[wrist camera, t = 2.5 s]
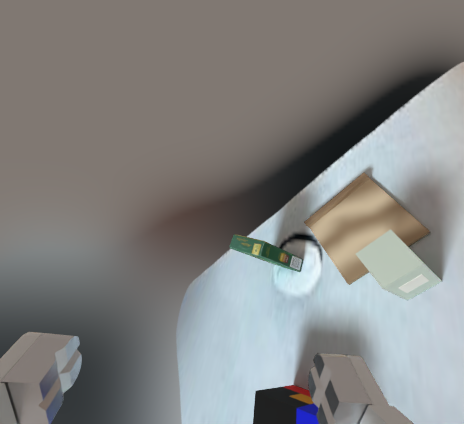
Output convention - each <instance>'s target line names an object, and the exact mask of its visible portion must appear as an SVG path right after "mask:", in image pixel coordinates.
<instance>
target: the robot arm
mask: <svg viewBox="0 0 464 424" xmlns="http://www.w3.org/2000/svg"><path fill="white" fill-rule="evenodd" d="M78 346H79V339H78V337H77V336H68V335H58V334H48V333H36V332H28V333H26V334H24V335H23V336H21V338H20V339H19V340H18V341H17V342H16V343H15V344H14V345H13V346H12V347H11V348H10V349H9V350H8V352H7V353H6V354H5V355H4V356H3V357H2V358H1V359H0V424H50V423H51V422H52V420H53V418H54V416H55V415H56V413H57V411H58V409H59V408H60V406H61V404H62V403H63V393H64V392H65V391H66V390H68V389H69V388H70V387H71V386H72V385H73V383H74V382H75V380H76V378H77V376H78V373H79V370H80V367H81V360H82V358H81V353H80V352H79V351H78V350H77V347H78ZM313 361H314V364H315V366H314V367H313V368H312V369H310V373H309V376H308V386H309V392H310V396H311V399H312V401H313V402H314V404H315V405H316V406H317V407H318V408H319V409H318V412H317V415H316V416H317V420H318V423H319V424H413V423H412V422H411V421H410V420H409V419H408V418H407V417H405V416H404V415H403V414H402V413H401V412H400V411H399V410H398V409H396V408H395V407H393V406H389V404H388V402H387V400H386V399H385V397H384V395H383V393H382V392H381V390H380V388H379V386H378V385H377V383H376V381H375V379H374V377H373V376H372V374H371V372H370V370H369V369H368V367H367V365H366V363H365V362H364V360H363V359H362V358H361V357H360V356H352V355H342V354H325V353H317V354H316V355H315V357H314V360H313Z"/></svg>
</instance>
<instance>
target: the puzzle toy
mask: <svg viewBox="0 0 464 424" xmlns="http://www.w3.org/2000/svg"><path fill="white" fill-rule="evenodd" d="M318 409H319V408H318V407H317V406H316V405H315V404H314V402H313V401H312V399H311V396H310V392H309V390H306V389H303V388H300V387H297V386H294V385H291V386H285V387H278V388H272V389H265V390H258V391H256V394H255V406H254V419H253V424H319V423H318V420H317V416H316V415H317V412H318Z"/></svg>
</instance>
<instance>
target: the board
mask: <svg viewBox="0 0 464 424" xmlns="http://www.w3.org/2000/svg"><path fill="white" fill-rule="evenodd" d="M304 223H305V224H306V226H308V227H309V228H310V229H311V230H312V232H313V233H314V235H315V236H316V238H317V239H318V241H319V242H320V244H321V245H322V247H323V248H324V250H325V251H326V253H327V254H328V255H329V257H330V258H331V260H332V261H333V263H334V264H335V266H336V267H337V269H338V270H339V272H340V273H341V275H342V276H343V277H344V279H345V280H346V282H347V283H348V284H349V285H350V284H351V283H353V282H355V281H356V280H358V279H359V278H361V277H362V276H364V275H365V274H367V273H368V272H369V271H368V269H367V268H366V267H365V266H364V264H363V263H362V262H361V260H360V259H359V258H358V257H357V255H356V253H357V252H359V251H360V250H362V249H363V248H364V247H366V246H367V245H369V244H370V243H372V242H373V241H375V240H376V239H377V238H379V237H380V236H382V235H383V234H385V233H386V232H387V231H389V230H390V229H391V230H392V231H393V232H394V233H395V234H396V235H397V236H398V237H399V238H400V239H401V240H402V241H403V242H404V243H405V244H406V245H407V246H408V247H409V246H410V245H412V244H413V243H415V242H416V241H418V240H420V239H421V238H423V237H424V236H426V235H427V234H429V233H430V231H429V230H428V229H426V228H425V227H424V226H423V225H422V224H421V223H420V222H419V221H417V220H416V219H415V218H414V217H413V216H412V215H411V214H410V213H408V212H407V211H406V210H405V209H404V208H403V207H402V206H400V205H399V204H398V203H397V202H396V201H395V200H394V199H393V198H391V197H390V196H389V195H388V194H387V193H386V192H385V191H384V190H382V189H381V188H380V187H379V186H378V185H377V184H376V183H374V182H373V181H372V180H371V179H370V178H369V177H368V176H367V175H366V174H365V173H363V174H362V175H360V176H359V177H358V178H357V179H356V180H354V181H353V182H352V183H351V184H350V185H348V186H347V187H346V188H345V189H343V190H342V191H341V192H340V193H339V194H337V195H336V196H335V197H334V198H333V199H331V200H330V201H329V202H328V203H327V204H325V205H324V206H323V207H322V208H321V209H319V210H318V211H317V212H316V213H314V214H313V215H312V216H311V217H310V218H308V219H307V220H306V221H305V222H304Z"/></svg>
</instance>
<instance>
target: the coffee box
mask: <svg viewBox="0 0 464 424" xmlns="http://www.w3.org/2000/svg"><path fill="white" fill-rule="evenodd" d="M230 248H231V249H234V250H236V251H239V252H242V253H245V254H248V255H250V256H253V257H255V258H258V259H261V260H264V261H267V262H269V263H272V264H275V265H278V266H282V267H285V268H288V269H291V270H295V271H298V272H300V271H301V267H302V262H303V259H301V258H299V257H297V256H295V255H293V254H291V253H288V252H286V251H284V250H282V249H280V248H278V247H276V246H274V245H271V244H269V243H267V242H265V241H262V240H257V239H253V238H249V237H244V236H240V235H234V236H233V238H232V241H231V244H230Z"/></svg>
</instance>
